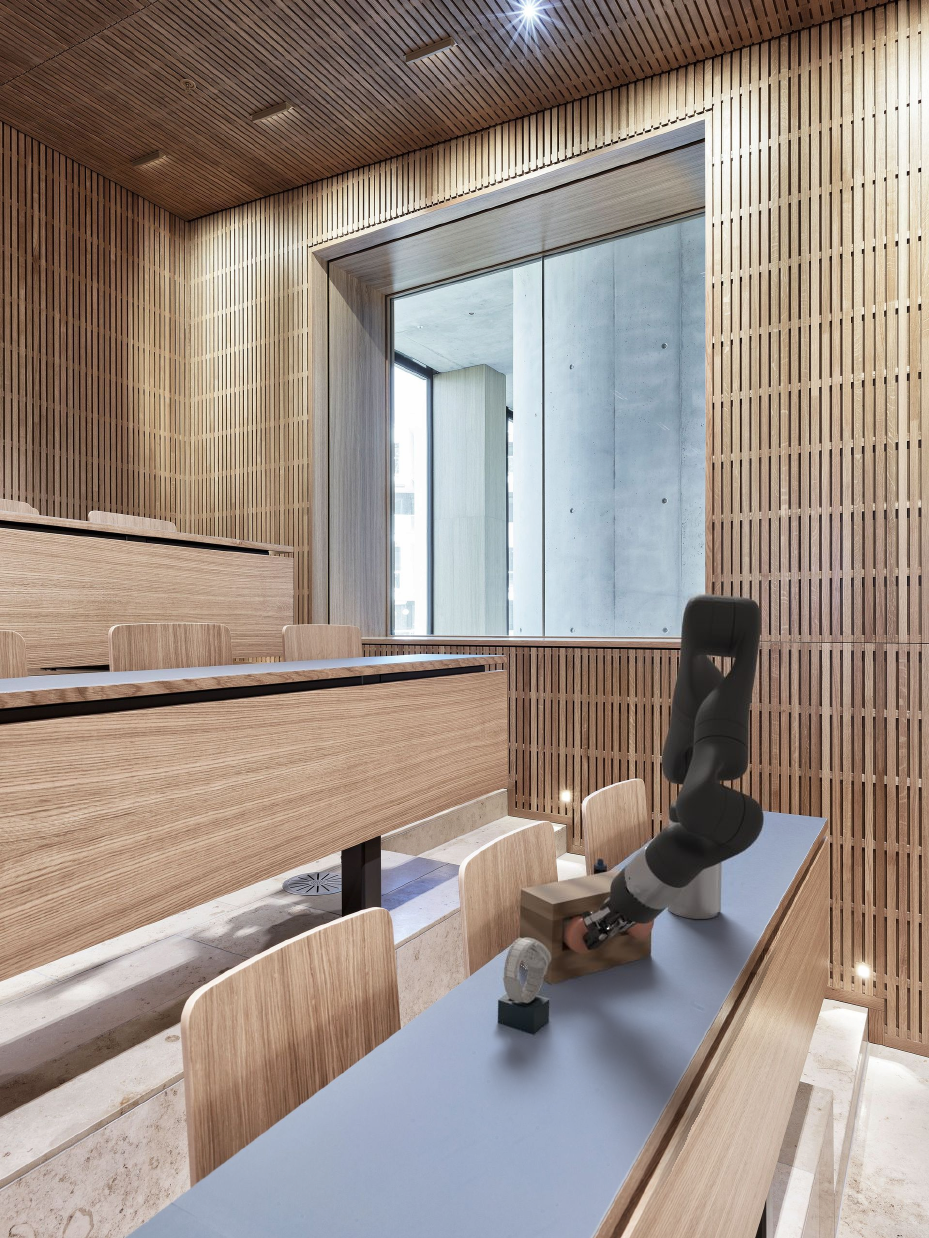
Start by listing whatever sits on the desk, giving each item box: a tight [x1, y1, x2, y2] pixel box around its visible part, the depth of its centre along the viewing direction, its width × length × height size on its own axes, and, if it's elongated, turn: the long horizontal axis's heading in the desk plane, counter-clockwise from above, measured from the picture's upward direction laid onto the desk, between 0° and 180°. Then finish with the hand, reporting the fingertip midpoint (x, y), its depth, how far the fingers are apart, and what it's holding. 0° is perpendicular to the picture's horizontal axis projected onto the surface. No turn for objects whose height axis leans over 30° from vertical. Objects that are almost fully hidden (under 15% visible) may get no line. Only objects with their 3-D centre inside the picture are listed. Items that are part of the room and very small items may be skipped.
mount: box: [519, 869, 652, 985], centre depth 128 cm, size 21×8×12 cm, turn 123°
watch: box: [497, 937, 551, 1036], centre depth 108 cm, size 6×8×11 cm
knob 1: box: [562, 916, 591, 954], centre depth 124 cm, size 5×10×5 cm, turn 33°
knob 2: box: [625, 919, 655, 939], centre depth 131 cm, size 5×10×5 cm, turn 33°
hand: (588, 943), depth 119 cm, fingers closed
